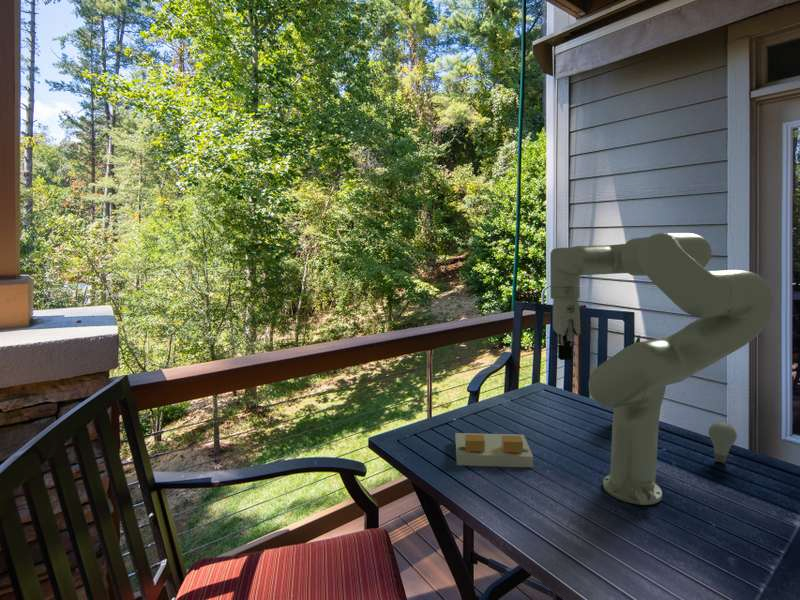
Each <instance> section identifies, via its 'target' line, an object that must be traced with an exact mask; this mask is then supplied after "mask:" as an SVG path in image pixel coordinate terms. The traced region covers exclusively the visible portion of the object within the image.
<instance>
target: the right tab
mask: <svg viewBox="0 0 800 600" xmlns="http://www.w3.org/2000/svg"><path fill="white" fill-rule="evenodd" d="M502 449H503V452H509V453H523V441H522V439H521V436H505V435H502Z"/></svg>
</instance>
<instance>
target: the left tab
mask: <svg viewBox="0 0 800 600" xmlns="http://www.w3.org/2000/svg"><path fill="white" fill-rule="evenodd" d="M465 447H466V451H476V452H485V440H484V435H468V434H465Z"/></svg>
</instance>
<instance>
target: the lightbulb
mask: <svg viewBox="0 0 800 600" xmlns="http://www.w3.org/2000/svg"><path fill="white" fill-rule="evenodd" d="M707 434H708V437H709V438H710V440H711V442H712V445H713V451H714V460H715V461H716V462H717V463H719V462H721V463H720V464H723V463H726V462H727V458H728V455H729V451H730V449H731V447H732V445H734V443H735V442H736V441H737V437H738V436H737V431H736V430H735V428H734V427H733V426H732V425H730V424H728V423H726V422H723V421H722V422H721V421H720V422H719V421H718V422H715V423H713V424H711V425H710V427H709V428H708V433H707Z"/></svg>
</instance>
